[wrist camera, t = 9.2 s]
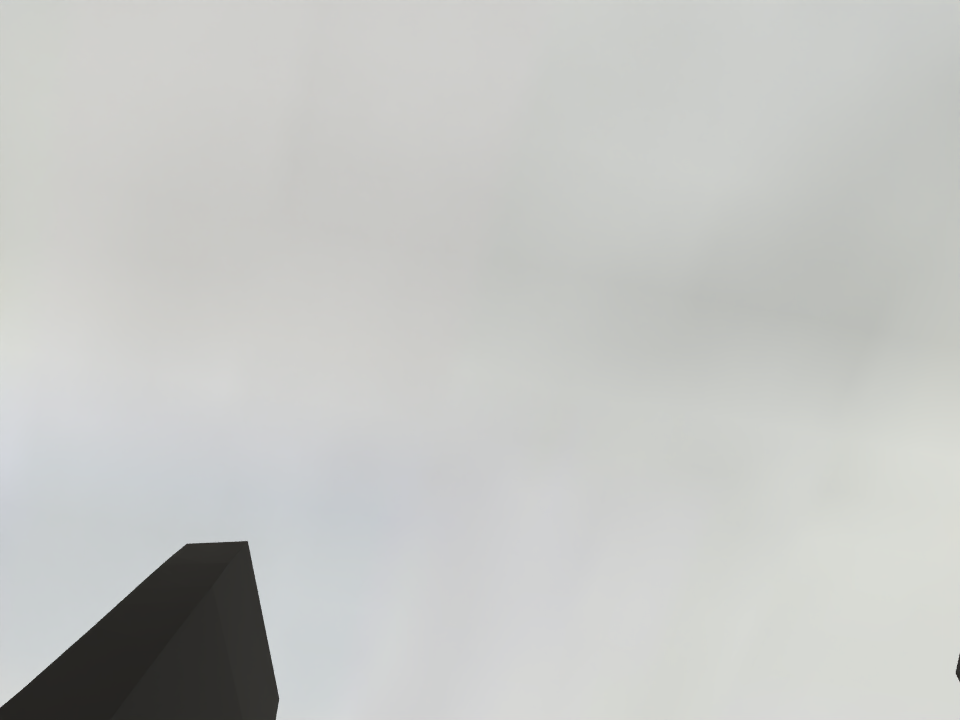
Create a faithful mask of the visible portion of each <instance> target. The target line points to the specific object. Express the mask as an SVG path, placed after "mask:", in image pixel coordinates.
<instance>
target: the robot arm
mask: <svg viewBox="0 0 960 720" xmlns="http://www.w3.org/2000/svg"><path fill="white" fill-rule="evenodd" d="M956 675H957V677H958V679H959V681H960V655H959V660H958V664H957V669H956ZM278 703H279V695H278V690H277V685H276V680H275V675H274V670H273V665H272V660H271V655H270V650H269V645H268V640H267V635H266V630H265V625H264V620H263V615H262V610H261V605H260V600H259V595H258V590H257V585H256V580H255V575H254V570H253V565H252V560H251V555H250V550H249V545H248V541H241V542H218V543H196V544H186V545H185V546H184V547H182V548H181V549H180V550H179V551H177V552H176V553H175V554H174V555H173V556H171V557H170V558H169V559H168V560H167V561H166V562H164V563H163V564H162V565H161V566H160V567H159V568H158V569H157V570H155V571H154V572H153V573H152V574H151V575H150V576H149V577H148V578H146V579H145V580H144V581H143V582H142V583H141V584H140V585H139V586H138V587H136V588H135V589H134V590H133V591H132V592H131V593H130V594H129V595H128V596H127V597H125V598H124V599H123V600H122V601H121V602H120V603H119V604H118V605H117V606H116V607H114V608H113V609H112V610H111V611H110V612H109V613H108V614H107V615H106V616H104V617H103V618H102V619H101V620H100V621H99V622H98V623H97V624H96V625H95V626H93V627H92V628H91V629H90V630H89V631H88V632H87V633H85V634H84V635H83V636H82V637H81V638H80V639H79V640H78V641H76V642H75V643H74V644H73V645H72V646H71V647H70V648H69V649H67V650H66V651H65V652H64V653H63V654H62V655H61V656H59V657H58V658H57V659H56V660H55V661H54V662H53V663H52V664H50V665H49V666H48V667H47V668H46V669H45V670H44V671H43V672H41V673H40V674H39V675H38V676H37V677H36V678H35V679H33V680H32V681H31V682H30V683H29V684H28V685H27V686H26V687H24V688H23V689H22V690H21V691H20V692H19V693H17V694H16V695H15V696H14V697H13V698H11V699H10V700H9V701H8V702H7V703H5V704H4V705H3V706H2V707H1V708H0V720H276V714H277V709H278Z"/></svg>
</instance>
